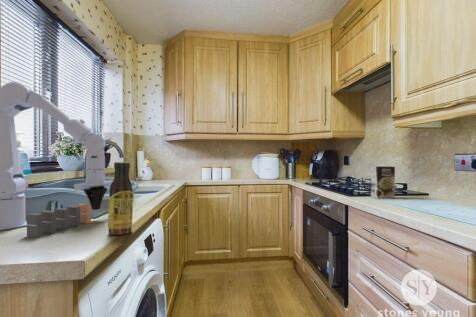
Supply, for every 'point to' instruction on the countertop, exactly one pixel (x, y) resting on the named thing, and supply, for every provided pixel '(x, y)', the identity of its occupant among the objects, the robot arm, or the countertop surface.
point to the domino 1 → (34, 225)
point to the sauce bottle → (120, 201)
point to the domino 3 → (62, 219)
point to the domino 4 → (74, 215)
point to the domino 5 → (85, 213)
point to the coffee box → (383, 182)
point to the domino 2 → (48, 222)
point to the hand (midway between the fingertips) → (95, 209)
